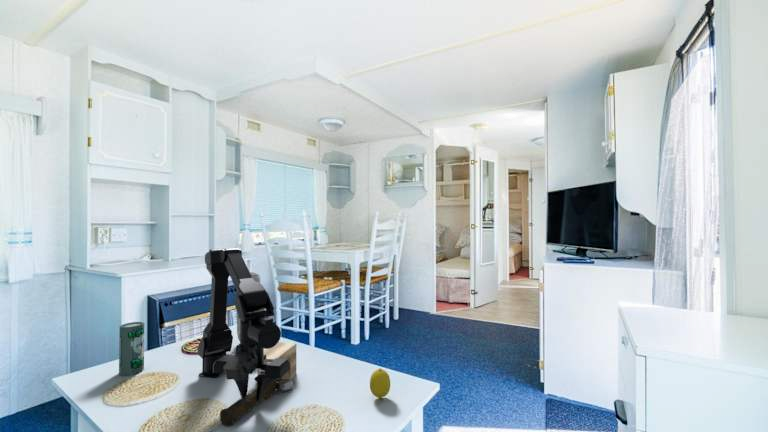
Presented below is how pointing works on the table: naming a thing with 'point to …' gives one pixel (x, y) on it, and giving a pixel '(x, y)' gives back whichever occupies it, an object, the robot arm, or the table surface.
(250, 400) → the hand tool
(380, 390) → the lemon
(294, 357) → the beige wooden box
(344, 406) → the table surface
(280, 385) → the steel token
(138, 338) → the can
